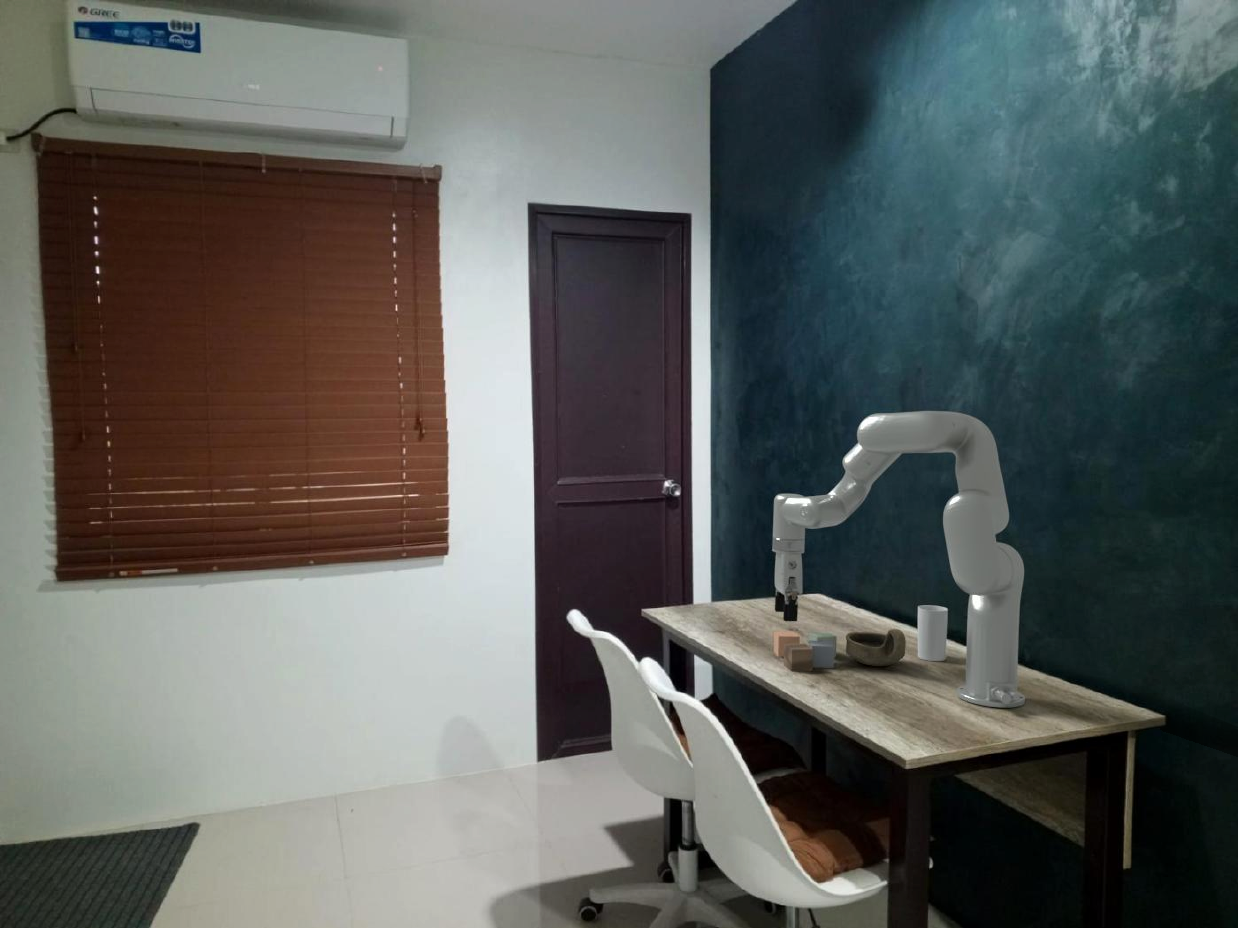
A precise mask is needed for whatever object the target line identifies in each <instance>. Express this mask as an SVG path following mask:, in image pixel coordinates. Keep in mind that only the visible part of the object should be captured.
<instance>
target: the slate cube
mask: <svg viewBox="0 0 1238 928" xmlns="http://www.w3.org/2000/svg"><path fill="white" fill-rule="evenodd" d="M809 647H811V648H812V649H813V668H823V669H825V668H827V669H834V668H835V657H834V645H833V644H832V642H831V641H810V640H809Z"/></svg>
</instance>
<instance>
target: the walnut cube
mask: <svg viewBox="0 0 1238 928" xmlns="http://www.w3.org/2000/svg"><path fill="white" fill-rule="evenodd" d="M783 666H784V667H785V668H786V669H788V670H789V671H790V672H811V671H812V672H813V671H814V670H813V669H814V667H813V649H812V648H811V647H809V646H808V644H807V643H800V644H784V657H783Z"/></svg>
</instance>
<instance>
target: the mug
mask: <svg viewBox="0 0 1238 928" xmlns="http://www.w3.org/2000/svg"><path fill="white" fill-rule="evenodd" d="M948 611H949V608H947V607H944V606H939V605H933V604H932V605H930V604H929V605H928V604H927V605H925V604H924V605H918V606H917V658H918V659H920V660H922V661H923V660H924V661H928V662H943V661H945V660H946V655H947V654H946V652H947V637H948V636H947V635H948V615H949V614H948Z"/></svg>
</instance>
